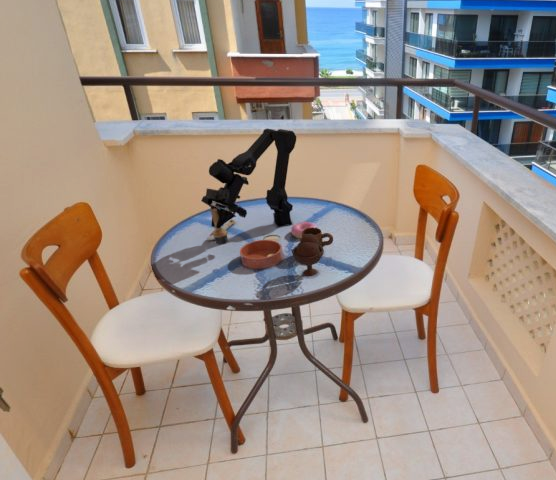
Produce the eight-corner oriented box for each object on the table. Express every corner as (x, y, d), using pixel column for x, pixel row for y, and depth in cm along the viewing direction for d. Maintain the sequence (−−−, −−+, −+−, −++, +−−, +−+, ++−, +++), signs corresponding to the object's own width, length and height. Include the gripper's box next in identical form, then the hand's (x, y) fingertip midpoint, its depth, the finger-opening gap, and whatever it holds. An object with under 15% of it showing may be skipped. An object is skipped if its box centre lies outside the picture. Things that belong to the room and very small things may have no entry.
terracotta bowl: (279, 247, 165) (277, 237, 163) (287, 265, 154) (285, 254, 151) (239, 254, 160) (237, 243, 158) (245, 273, 149) (242, 262, 146)
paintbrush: (204, 235, 166) (228, 218, 183) (205, 242, 168) (229, 223, 184) (212, 236, 166) (236, 218, 182) (214, 242, 167) (237, 224, 184)
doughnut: (313, 227, 181) (312, 218, 178) (321, 237, 173) (320, 228, 170) (288, 231, 177) (287, 222, 175) (295, 242, 169) (294, 233, 166)
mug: (336, 250, 163) (335, 228, 158) (332, 259, 157) (330, 237, 152) (307, 248, 165) (304, 226, 159) (301, 257, 158) (298, 235, 153)
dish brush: (228, 237, 161) (220, 206, 154) (229, 243, 157) (221, 210, 150) (214, 240, 159) (205, 208, 152) (215, 245, 156) (206, 213, 148)
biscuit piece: (277, 255, 159) (276, 252, 158) (278, 260, 156) (278, 257, 155) (266, 257, 157) (266, 254, 157) (268, 262, 154) (267, 259, 154)
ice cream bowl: (295, 266, 153) (290, 229, 144) (326, 265, 153) (323, 228, 145) (293, 282, 144) (287, 243, 135) (325, 280, 145) (321, 242, 136)
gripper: (199, 174, 152) (181, 212, 151) (234, 183, 144) (215, 224, 142) (221, 188, 162) (204, 224, 160) (255, 198, 154) (238, 236, 152)
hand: (214, 227), depth 154 cm, fingers closed on dish brush, 2 cm apart
